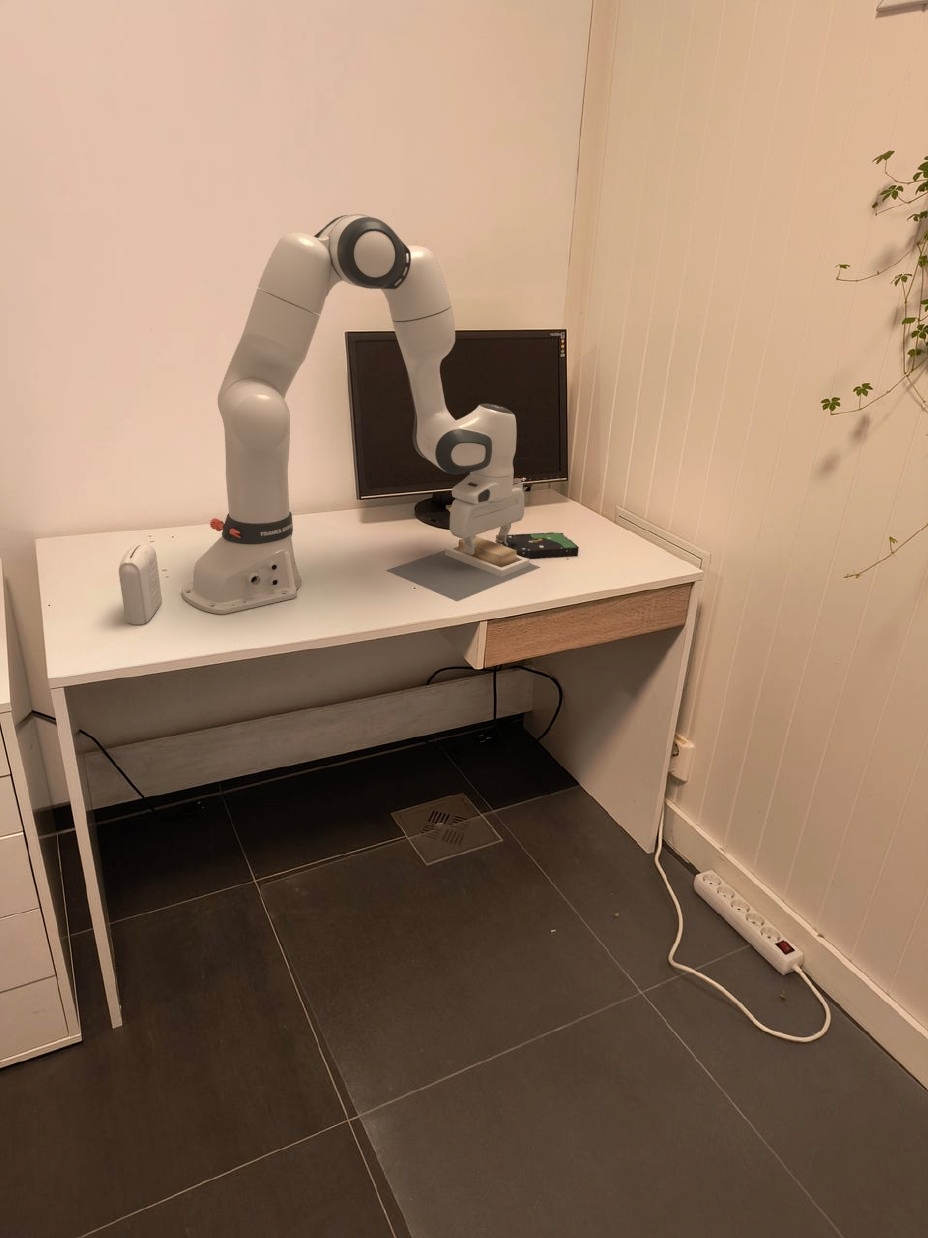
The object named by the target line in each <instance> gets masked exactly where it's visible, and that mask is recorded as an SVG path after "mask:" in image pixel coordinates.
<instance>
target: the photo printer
mask: <svg viewBox="0 0 928 1238" xmlns="http://www.w3.org/2000/svg"><path fill="white" fill-rule="evenodd" d="M159 573H160V572H159V567H158V558H157V552H156V549H155V548H154V547H153V545H151V544H149V543H145V542H144V543H140V542H139V543H136V544H134V545H133V546H131V547H130V548H129V549H128V550H127V551H126V552H125V554H124V555H123V556H122V559H121V560H120V563H119V566H118V575H119V584H120V590H121V596H122V597H121V598H122V604H123V610H124V617H125V621H126V623H129V624H130V625H134V626H135V625H145V624H146V623H148V622H149V621H150V620H151V619H152V618H153V617H154V615H155V614H156V613H157V610H158V609H159V608H160V607H161V604H162V600H163V599H162V589H161V584H160V583H161V581H160V574H159Z"/></svg>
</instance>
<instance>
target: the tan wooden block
mask: <svg viewBox="0 0 928 1238" xmlns="http://www.w3.org/2000/svg"><path fill="white" fill-rule="evenodd" d="M473 542H474V545H477V553H475V554H472V555H470V554H468V553H467V552H466V547H467V545H466V543H465V541H464V539H462V538H460V539H459V540H458V544H459V547H458V551H459V552H462V553H464V554H467V555H470V556H472V557H475V558H477V559H480V560H483V561H485V562H488V563H490V564H493V565H496V566H498V567H501V568H502V567H505V566H507V565H510V564H512V563H515V562H516V553H517V550H514V549H511V548H508V547H506V546H503V545H502V544H501V545H500V544H497V543H496V542H494V541H491V540H489V539H486V538H484V537H480V536H478V535H475V539H474V540H473Z"/></svg>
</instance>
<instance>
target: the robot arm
mask: <svg viewBox="0 0 928 1238" xmlns="http://www.w3.org/2000/svg"><path fill="white" fill-rule="evenodd" d="M436 257H437V256H436V255H435V254H434V253H433V251H432V250H430V249H429V248H428V247H425V246H422V245H416V244H414V245H413V244H411V245H407V244H405V243H404V242H403V241H402V239H401V238H400V237H399V236H398V234H397V233H396V232H395V231H394V229H392V227H391V226H389V225H388V223H386V222H384V221H383V220H381V219H379V218H376V217H373V216H372V217H371V216H369V215H367V214H361V213H354V214H353V213H352V214H344V215H341V216H338V217H335V218H334V219H333V220H331V221H330V222H329V223H328V224H326V225H325V226H324V227H323V228H322V229H320V230H319V232H317V233H315V235H311V234H309V233H305V232H302V231H292V232H287V233H286V234H284V235H282V236H281V238H280V239H279V240H278V241H277V243H276V245H275V247H274V249H273V250H272V253H271V254H270V257H269V259H268V261H267V263H266V265H265V267H264V270H263V272H262V275H261V277H260V279H259V283H258V285H257V289H256V292H255V294H254V295H255V296H254V299H253V301H252V304H251V307H250V311H249V313H248V316H247V319H246V321H245V324H244V325H245V326H244V329H243V331H242V334H241V337H240V339H239V342H238V344H237V346H236V348H235V350H234V353H233V355H232V358H231V361H229V365H228V367H227V370H226V372H225V374H224V377H223V380H222V383H221V386H220V389H219V392H218V395H217V406H218V411H219V413H220V416H221V420H222V423H223V427H224V443H225V445H224V447H225V480H226V481H225V483H226V495H227V496H226V497H227V505H228V506H227V507H228V514H227V515H226V518H225V522H224V521H222V520H220V519H218V518H216V517H215V518H212V519H211V520H210V522H209V527H210V528H211V529H212V530H216V531H217V532H221V531H222V532H221V536H220V537H219V538H218V539H217V540H216V542H214V544H212V546H210V547H209V548H208V549H207V550H206V552H204V553H203V555H201V556H200V557H199V558H198V559H197V560H196V562H195V563H194V567H193V568H194V569H193V576H192V582H191V583H188V584H186V585H183V586H182V588H181V596H182V598H183V599H184V600H185V602H187V603H188V604H189V605H192V606H193V607H195V608H196V609H199V610H200V611H201V610H202V611H203V612H208V613H212V614H218V615H225V614H230V613H235V612H238V611H239V612H240V611H243V610H249V609H252V608H257V607H261V606H265V605H271V604H275V603H279V602H283V601H287V600H292V599H295V598H296V597H297V595H298V593H297V591H298V589H299V588H300V586H301V584H302V579H301V576H300V573H299V571H298V567H297V562H296V559H295V554H294V553H295V552H294V549H293V548H294V547H293V539H292V535H293V532H294V525H293V514H292V512H291V511H290V497H289V496H290V494H289V493H290V492H289V473H288V472H289V459H290V443H291V441H290V439H291V438H290V435H291V414H290V409H289V406H288V404H287V401H286V400H285V398H286V395H287V393H288V391H289V389H290V387H291V384H292V382H293V380H294V378H295V377H296V375H297V372H298V371H299V369H300V367H301V366H302V364H303V363H304V362H305V360H306V358H307V355H308V351H309V350H310V346H311V343H312V341H313V338H314V336H315V335H314V334H315V333H316V330H317V327H318V323H319V320H320V318H321V315H322V311H323V308H324V305H325V302H326V299H327V297H328V296H329V293H330V291H331V290H333V288H334V287H335V285H337V284H339V283H340V282H342V281H343V282H345V283H346V284H349V285H351V286H355V287H361V288H363V289H371V290H376V289H377V290H381V291H382V293H383V295H384V296H385V299H386V301H387V303H388V308H389V313H390V318H391V322H392V325H393V329H394V333H395V336H396V338H397V339H396V340H397V342H398V345H399V348H400V351H401V354H402V357H403V361H404V364H405V367H406V374H407V378H408V384H409V389H410V393H411V398H412V399H411V400H412V405H413V411H414V423H413V428H412V443H413V446H414V449H415V450H416V452H417V453H418V455H420V457H422V458H423V459H425V460H427V461H429V462H431V463H432V464H433V465H434V466H436V467H437V468H439V469H440V470H442V471H443V472H445V473H448V474H450V475H462V474H463V475H464V474H468V473H469V474H468V475H467V476H466V477H465V478H464V479H462V480H461V481H460V482H458V483H456V485H455V486H453V487H452V490H451V495H452V497H453V498H455V499H453V501H452V504H451V507H450V515H449V532H450V533H451V534H452V535H453V536H454V537H457V538H459V539H464V541H465V543H466V545H467V547H466V552H467V553H468V554H470V555H472V554H475V553H477V545H474V542H473V540H474V539H475V536H478V535H480V534H483V533H486V532H489V531H491V530H495V529H498V528H500V529H499V531H498V534H496V535H495V543H497V544H500V545H502V544H504V543H506V536H507V535H509V533H510V530H511V528H512V524H514V523H517V522H520V521H522V520H523V518H524V515H525V493H524V484H523V482H522V480H520V478H517V477H515V478H514V473H515V472H514V457H515V454H516V450H517V421H516V420H517V419H516V415H515V414H514V413H513V412H512V410H509V409H508V408H506V407H504V406H500V405H497V404H493V403H479V405H478V406H477V407H476V408H475V409H474V410H473V411H472V412H470V413H468V414H467V415H465V416H463V417H460V418H458V419H455V418H454V417H453V416H452V415H451V413H450V412H449V410H448V408H447V406H446V401H445V396H444V391H443V383H442V378H441V373H440V368H441V363H442V360H443V359H444V358H446V356H448V355H449V353H450V352H451V351H452V349H453V347H454V345H455V342H456V326H455V317H454V312H453V311H454V310H453V308H452V303H451V297H450V295H449V290H448V287H447V284H446V281H445V278H444V276H443V273H442V270H441V267H440V265H439V262H438V259H437V258H436Z"/></svg>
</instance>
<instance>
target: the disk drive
mask: <svg viewBox="0 0 928 1238" xmlns="http://www.w3.org/2000/svg"><path fill="white" fill-rule="evenodd" d="M501 545H503V546H506V547H508V548H511V549H514V550H517V553H516V555H518V556H521V557H523V558H526V559H529V560H537V559H556V558H557V559H558V558H570V557H571V558H573V557H578V555H579V550H580V549H579V546H578V545H577V544H576V543H575V542H573V540H572V539H569V538H568V537H567V536H565V535H564V533H563V532H554V531H553V532H552V531H550V532H536V533H518V534H517V533H516V534H508V535H507V536H506V543H504V544H501Z"/></svg>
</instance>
